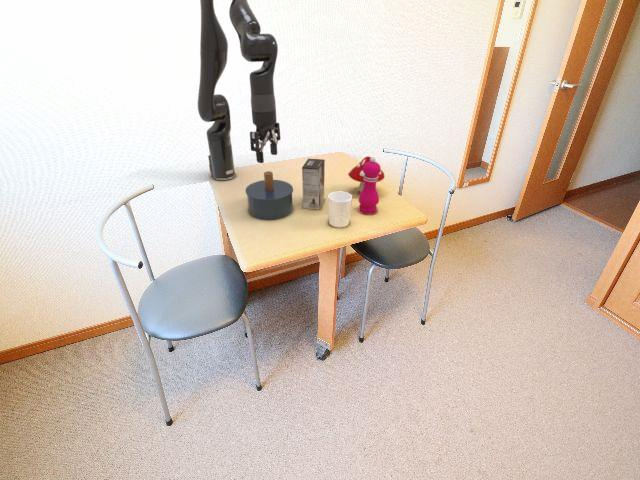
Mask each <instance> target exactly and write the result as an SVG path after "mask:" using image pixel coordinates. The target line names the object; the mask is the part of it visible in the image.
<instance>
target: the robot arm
mask: <svg viewBox="0 0 640 480" xmlns="http://www.w3.org/2000/svg"><path fill="white" fill-rule="evenodd" d="M199 3H200V38H199V39H200V40H199V57H200V60H199V62H200V63H199V64H200V65H199V66H200V67H199V86H198V93H197V112H198V115H199V117H200V119H201V121H203V122H205V123H212V122H213V123H212V124H211V126H210V127H208V129H206V140H207V145H208V146H207V147H208V151H209V154H208V163H209V164H208V167H209V172H210V176H211V178H213V179H214V180H216V181H230V180H232V179H234V178H236V169H235V161H234V155H233V147H232V145H233V144H232V139H231V138H232V137H231V131H232V123H231V122H232V121H231V109H230V105H229V101H228V99H227V98H226V97H225V96H224V95H223V94H219V93H217V94H215V92H216V88H217V84H218V82H219V80H220V78H221V77H222V75H223V73H224V71H225V69H226V67H227V63H228V54H229V42H228V39H227V35H226V33H225V32H224V30H223V28H222V26H221V23H220V22H219V18H218V16H217V14H216V11H215V5H214V0H199ZM228 15H229V20H230V23H231V25H232V26H233V29H234V30H235V32H236V34H237V37H238V40H239V47H240V49H239V50H240V53H241V56H242V58H243V59H244V60H245V61H247V62H249V63H261V62H262V65H261V67H260V68H258V69H256V70H253V71H250V73H249V89H250V106H251V118H252V120H251V121H252V124H253V125H254V126H255V131H249V141H250V144H249V145H250V151H251V152H255V157H256V158H255V159H256V163H259V164H263V163H264V162H265V159H264V148H265V146H266V145H267V143H268V142H269V143H270V144H269V148H270V155H273V156H277V155H278V144H279V141H281V125H280V123H279V122H277V104H276V96H275V84H274V76H275V69H276V63H277V59H278V52H279V46H278V45H279V44H278V42H277V39H276V37H275V36H274V35H273V34H272V33H261V32H262V31H261V30H262V28H261V25H260V22H259V20H258V19H257V17H256V15H255V13H254V12H253V10H252V8H251V7H250V4H249V2H248V0H231V3H230V5H229V9H228Z"/></svg>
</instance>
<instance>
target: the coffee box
mask: <svg viewBox="0 0 640 480" xmlns="http://www.w3.org/2000/svg"><path fill="white" fill-rule="evenodd" d="M325 161H326V160H325V159H323V158H321V159H320V158H307V160H306V161H305V162H304V164H303V165H302V167H301V173H302V174H301V177H302V180H301V181H302V208H303V209H309V210H320V208H321V207H322V204H323V202H324V200H325V165H326V162H325Z"/></svg>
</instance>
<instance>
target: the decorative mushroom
mask: <svg viewBox="0 0 640 480" xmlns="http://www.w3.org/2000/svg"><path fill="white" fill-rule="evenodd" d="M370 158H372V157H371V156H365V157H364V158H362V160H361V161H359V162H358V164H356V165H355V166H354V167H353V168H351V169H350V170H349V171H348V173H347V175H348V177H349V178H350V179H352V180H353V181H356V182H358V183H359V186H358V192H359V193H361V192H362V190H363V188H364V184H365V180H364V175H365V174H364V172H363V166H364V164H365V163H367V162H369V161H370ZM384 179H385V172H384V171H383V170H382V169H381V171H380V173H379V174H378V181H377V182H376V183H378V182H381V181H382V180H384Z"/></svg>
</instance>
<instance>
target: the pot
mask: <svg viewBox="0 0 640 480" xmlns="http://www.w3.org/2000/svg"><path fill="white" fill-rule="evenodd" d="M246 197H247V207H248V212H249V214H250V215H251V217H253V218H256V219H258V220H262V221H263V220H264V221H274V220H280V219H283V218H286V217H287V216H289V215H290V214H291V213H292V212H293V193H292V194H291V195H290V196H288V197H286V198H283V199H280V200H275V201H259V200H255V199H252V198H250V197H248V196H247V195H246Z"/></svg>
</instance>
